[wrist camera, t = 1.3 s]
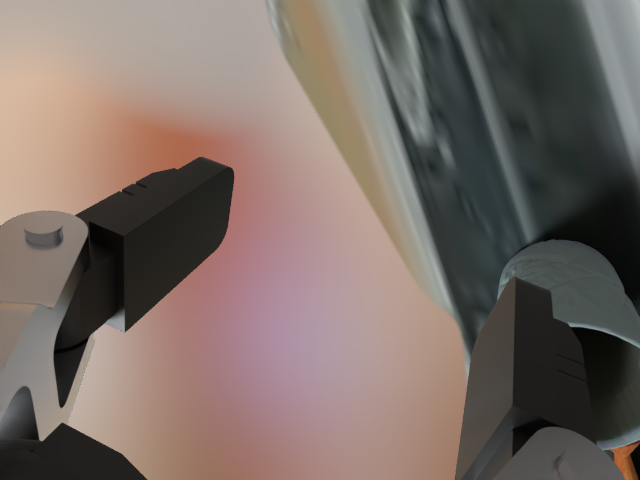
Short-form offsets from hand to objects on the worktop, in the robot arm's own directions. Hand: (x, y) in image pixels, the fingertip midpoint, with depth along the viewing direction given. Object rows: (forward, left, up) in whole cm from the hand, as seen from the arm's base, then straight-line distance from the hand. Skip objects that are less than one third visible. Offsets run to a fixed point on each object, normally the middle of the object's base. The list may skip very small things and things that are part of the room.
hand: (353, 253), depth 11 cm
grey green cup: (-13, +14, -28) cm, 34 cm away
